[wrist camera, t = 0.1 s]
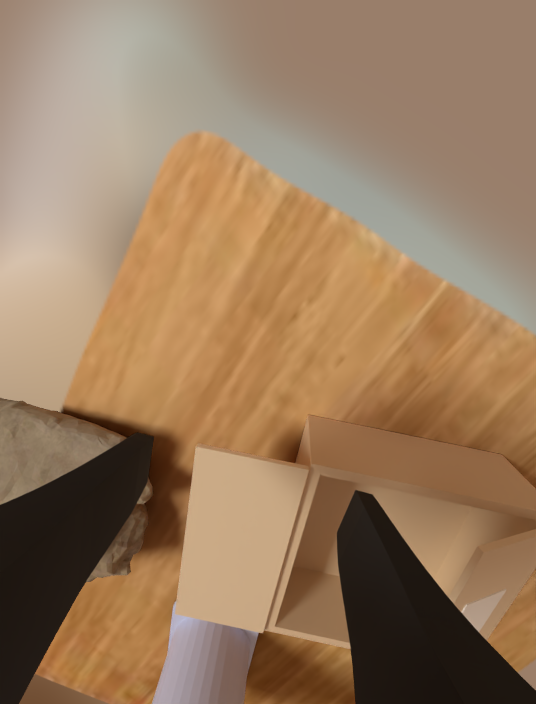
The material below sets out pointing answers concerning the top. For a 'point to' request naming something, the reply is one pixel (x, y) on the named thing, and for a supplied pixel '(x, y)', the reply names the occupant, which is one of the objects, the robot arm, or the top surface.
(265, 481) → the carton
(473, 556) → the cardboard box flap
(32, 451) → the artifact
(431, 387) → the top surface
